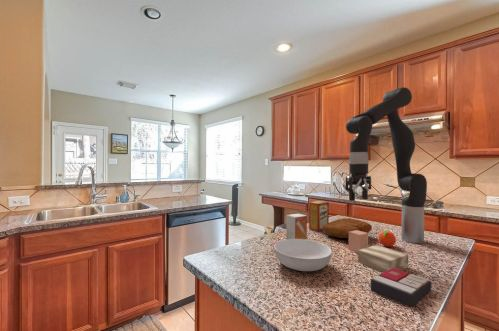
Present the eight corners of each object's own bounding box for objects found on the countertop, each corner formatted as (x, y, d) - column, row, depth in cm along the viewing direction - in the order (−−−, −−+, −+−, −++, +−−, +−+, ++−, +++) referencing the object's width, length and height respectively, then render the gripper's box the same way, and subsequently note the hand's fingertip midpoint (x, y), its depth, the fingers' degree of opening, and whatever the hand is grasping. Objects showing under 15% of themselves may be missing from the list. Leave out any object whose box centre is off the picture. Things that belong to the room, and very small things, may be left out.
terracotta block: (356, 247, 108) (356, 230, 108) (367, 251, 103) (368, 233, 103) (348, 249, 106) (348, 231, 106) (359, 253, 101) (359, 234, 101)
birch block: (376, 257, 98) (376, 244, 98) (408, 268, 88) (408, 254, 88) (358, 263, 92) (358, 250, 92) (389, 275, 82) (389, 261, 82)
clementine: (391, 250, 104) (391, 234, 104) (375, 246, 110) (375, 231, 110) (398, 246, 110) (398, 231, 110) (381, 242, 115) (381, 228, 115)
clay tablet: (346, 229, 138) (346, 216, 138) (375, 237, 123) (375, 222, 123) (319, 235, 126) (319, 220, 126) (347, 245, 112) (347, 227, 112)
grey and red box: (431, 278, 72) (412, 292, 63) (431, 293, 72) (412, 309, 62) (392, 266, 80) (370, 276, 71) (391, 279, 80) (369, 291, 71)
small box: (295, 245, 111) (295, 217, 111) (285, 241, 116) (285, 214, 116) (307, 242, 115) (307, 215, 115) (297, 238, 121) (297, 213, 121)
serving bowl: (298, 284, 75) (298, 262, 75) (263, 260, 93) (263, 243, 93) (344, 271, 84) (344, 251, 84) (305, 251, 103) (305, 235, 103)
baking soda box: (318, 231, 134) (318, 203, 134) (309, 229, 139) (309, 201, 139) (328, 228, 140) (328, 201, 140) (319, 226, 145) (319, 200, 145)
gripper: (361, 163, 111) (361, 197, 111) (340, 162, 104) (340, 200, 104) (376, 162, 105) (376, 200, 105) (355, 162, 98) (355, 202, 98)
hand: (358, 200), depth 104 cm, fingers open, 8 cm apart
